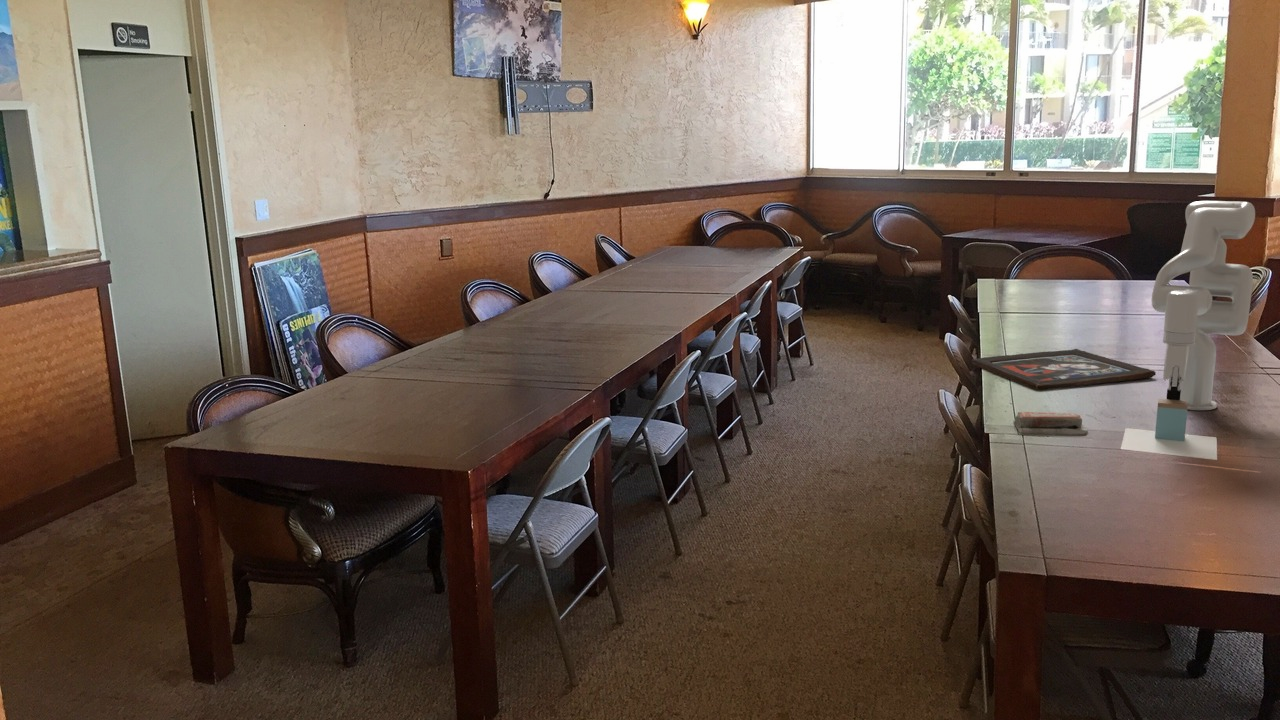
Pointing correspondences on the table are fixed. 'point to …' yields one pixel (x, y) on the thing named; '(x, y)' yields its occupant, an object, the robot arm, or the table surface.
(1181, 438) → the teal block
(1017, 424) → the packaged product
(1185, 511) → the table surface
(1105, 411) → the table surface
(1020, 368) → the religious icon
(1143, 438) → the board
